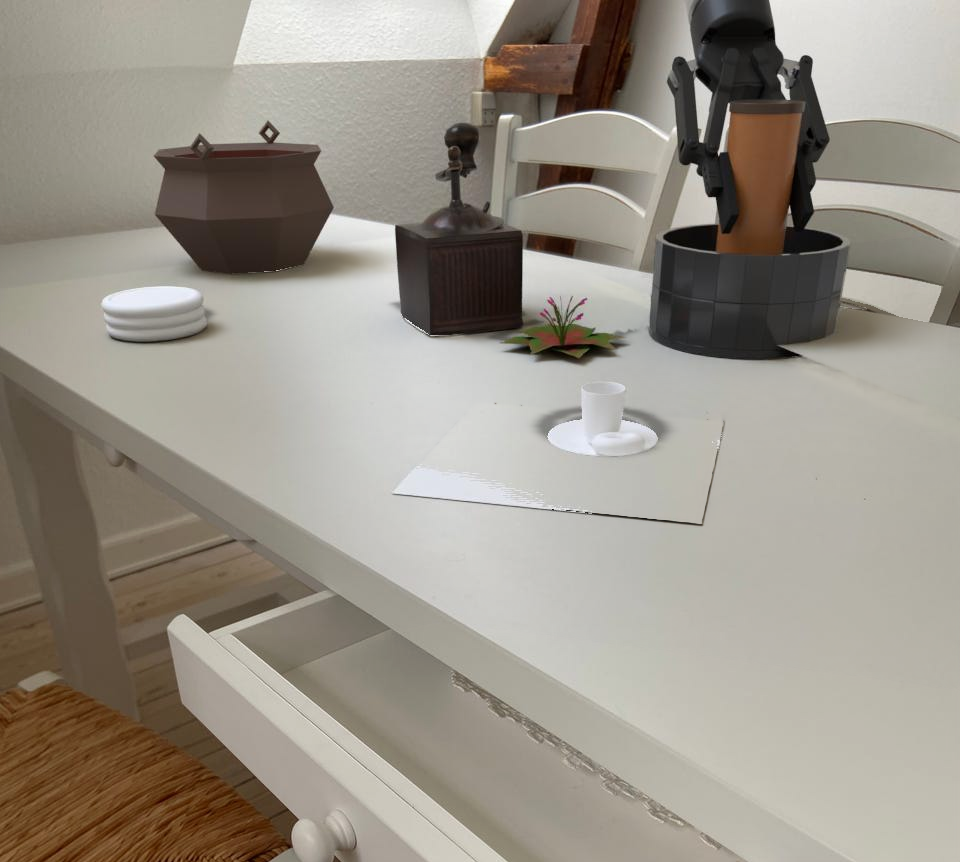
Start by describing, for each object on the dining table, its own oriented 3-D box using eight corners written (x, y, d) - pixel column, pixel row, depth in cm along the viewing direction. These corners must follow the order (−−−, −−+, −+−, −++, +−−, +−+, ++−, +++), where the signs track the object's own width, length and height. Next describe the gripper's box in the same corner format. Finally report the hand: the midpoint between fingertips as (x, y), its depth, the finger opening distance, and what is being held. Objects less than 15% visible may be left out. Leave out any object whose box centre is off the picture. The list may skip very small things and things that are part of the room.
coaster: (116, 348, 97) (109, 311, 95) (99, 326, 105) (92, 291, 103) (218, 335, 101) (213, 299, 99) (194, 314, 109) (189, 281, 107)
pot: (873, 346, 95) (892, 245, 90) (713, 368, 89) (725, 262, 84) (761, 307, 109) (772, 218, 104) (616, 323, 103) (622, 230, 99)
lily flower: (543, 325, 103) (544, 279, 100) (648, 342, 97) (651, 293, 94) (475, 352, 95) (474, 302, 92) (584, 372, 89) (587, 319, 86)
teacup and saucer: (648, 471, 68) (652, 413, 66) (533, 461, 70) (535, 404, 68) (663, 429, 75) (668, 376, 73) (559, 421, 77) (561, 368, 75)
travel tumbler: (797, 263, 94) (821, 102, 87) (738, 269, 92) (758, 104, 85) (756, 252, 99) (775, 98, 92) (700, 257, 97) (715, 100, 90)
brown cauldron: (207, 245, 146) (189, 119, 137) (365, 249, 141) (356, 119, 133) (125, 279, 126) (98, 133, 117) (307, 284, 121) (292, 134, 113)
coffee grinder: (531, 327, 102) (534, 130, 93) (428, 338, 99) (421, 135, 90) (476, 296, 115) (474, 120, 105) (383, 305, 111) (373, 124, 102)
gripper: (809, 44, 100) (850, 245, 95) (622, 46, 98) (653, 252, 93) (841, -22, 93) (888, 192, 88) (640, -21, 91) (675, 198, 86)
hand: (767, 222), depth 90 cm, fingers closed on travel tumbler, 6 cm apart
